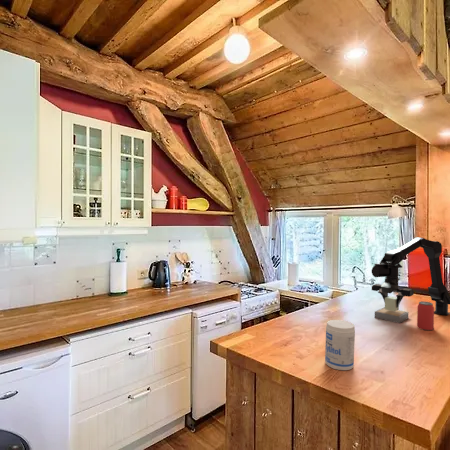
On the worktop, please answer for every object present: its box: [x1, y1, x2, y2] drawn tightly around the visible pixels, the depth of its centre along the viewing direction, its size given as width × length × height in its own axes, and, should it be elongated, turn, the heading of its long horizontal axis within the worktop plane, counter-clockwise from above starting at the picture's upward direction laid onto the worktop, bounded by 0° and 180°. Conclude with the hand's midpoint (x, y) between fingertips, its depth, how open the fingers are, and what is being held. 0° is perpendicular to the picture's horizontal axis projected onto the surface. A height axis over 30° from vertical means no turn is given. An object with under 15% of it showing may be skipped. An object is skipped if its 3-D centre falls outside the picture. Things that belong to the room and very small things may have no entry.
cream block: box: [384, 295, 400, 311], centre depth 168 cm, size 5×5×6 cm
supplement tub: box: [324, 319, 356, 371], centre depth 114 cm, size 10×10×15 cm
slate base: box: [374, 306, 409, 324], centre depth 168 cm, size 12×12×3 cm
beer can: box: [416, 301, 435, 331], centre depth 152 cm, size 7×7×12 cm
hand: (391, 306), depth 168 cm, fingers closed on cream block, 5 cm apart
